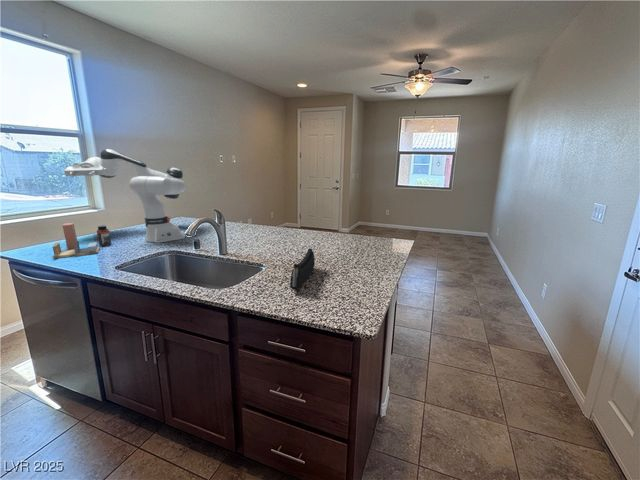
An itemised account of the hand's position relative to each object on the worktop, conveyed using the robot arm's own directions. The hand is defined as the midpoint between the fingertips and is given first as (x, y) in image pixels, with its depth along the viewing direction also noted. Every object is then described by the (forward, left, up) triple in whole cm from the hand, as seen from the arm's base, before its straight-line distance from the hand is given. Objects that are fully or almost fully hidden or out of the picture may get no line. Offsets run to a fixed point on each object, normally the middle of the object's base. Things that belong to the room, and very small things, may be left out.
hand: (80, 175), depth 184 cm
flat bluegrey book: (-4, +32, -38) cm, 50 cm away
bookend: (+1, +33, -38) cm, 50 cm away
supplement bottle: (-8, +18, -39) cm, 44 cm away
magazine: (-87, +121, -39) cm, 154 cm away
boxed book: (+7, +19, -39) cm, 44 cm away
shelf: (+3, +32, -39) cm, 51 cm away
